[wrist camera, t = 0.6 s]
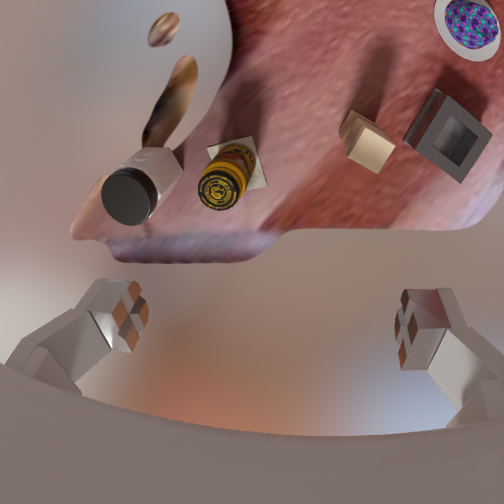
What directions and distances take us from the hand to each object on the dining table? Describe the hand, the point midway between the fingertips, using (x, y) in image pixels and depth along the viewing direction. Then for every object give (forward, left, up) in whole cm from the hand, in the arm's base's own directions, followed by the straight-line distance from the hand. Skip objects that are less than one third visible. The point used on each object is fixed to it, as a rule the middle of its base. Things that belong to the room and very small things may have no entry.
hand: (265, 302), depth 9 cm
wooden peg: (-1, +9, -40) cm, 41 cm away
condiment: (+13, -4, -40) cm, 42 cm away
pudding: (-26, +16, -40) cm, 50 cm away
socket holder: (-8, +21, -40) cm, 45 cm away
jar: (+19, -16, -40) cm, 47 cm away
